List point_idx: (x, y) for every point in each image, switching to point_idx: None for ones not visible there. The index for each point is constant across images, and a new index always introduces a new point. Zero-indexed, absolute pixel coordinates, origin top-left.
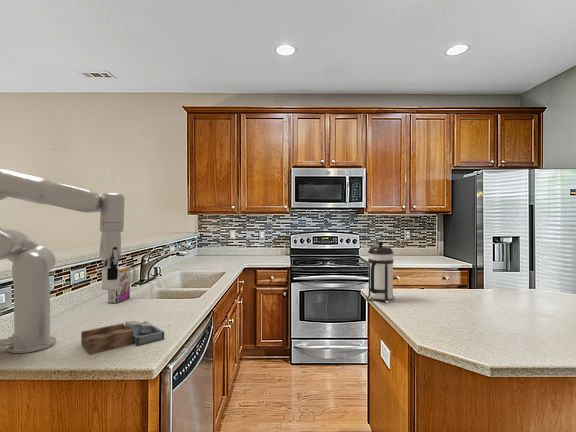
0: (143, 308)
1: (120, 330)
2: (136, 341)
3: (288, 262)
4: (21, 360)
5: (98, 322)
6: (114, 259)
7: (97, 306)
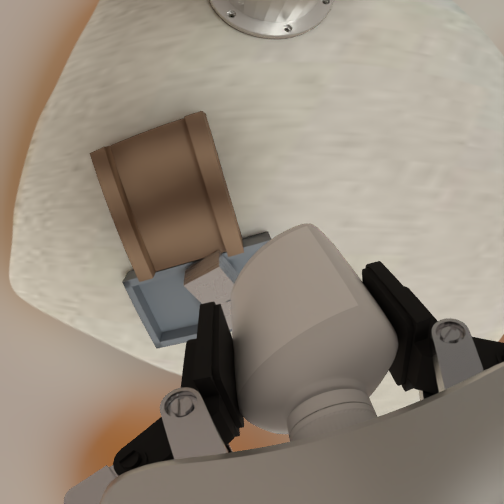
0: (473, 295)
1: (207, 239)
2: (129, 275)
3: None
4: None
5: (428, 169)
6: (68, 500)
7: None
